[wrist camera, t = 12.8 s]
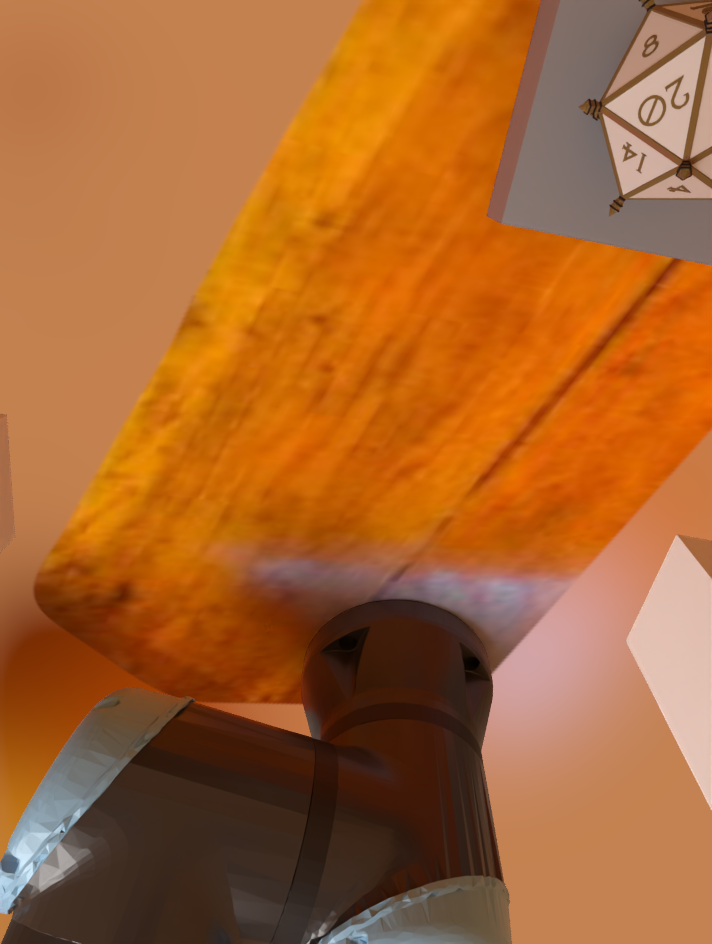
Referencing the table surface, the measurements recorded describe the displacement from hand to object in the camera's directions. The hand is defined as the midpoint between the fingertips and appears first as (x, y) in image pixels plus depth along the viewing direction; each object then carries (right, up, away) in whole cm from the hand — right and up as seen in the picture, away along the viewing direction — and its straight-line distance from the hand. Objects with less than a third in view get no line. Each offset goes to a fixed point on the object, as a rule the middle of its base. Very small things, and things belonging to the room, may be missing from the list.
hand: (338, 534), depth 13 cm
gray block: (+15, +20, +21) cm, 33 cm away
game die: (+14, +18, +17) cm, 29 cm away
